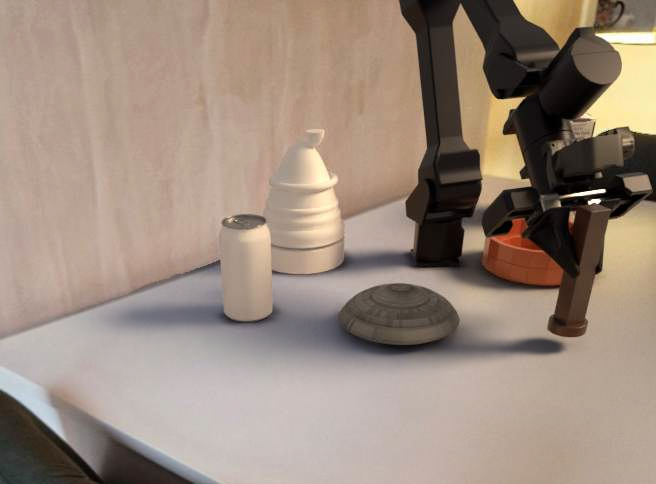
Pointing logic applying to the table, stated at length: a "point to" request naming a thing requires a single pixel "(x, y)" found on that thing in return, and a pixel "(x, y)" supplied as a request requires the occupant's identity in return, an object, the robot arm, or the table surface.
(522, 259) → the bowl
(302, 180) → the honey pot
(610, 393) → the table surface
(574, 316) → the stick
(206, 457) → the table surface
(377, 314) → the flying saucer
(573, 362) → the table surface
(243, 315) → the can
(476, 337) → the table surface
